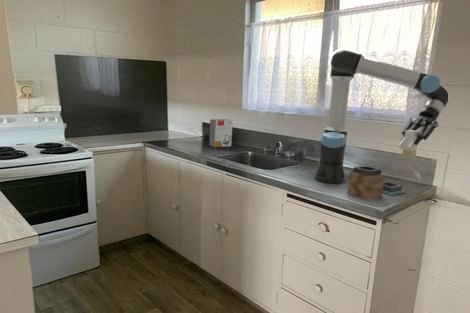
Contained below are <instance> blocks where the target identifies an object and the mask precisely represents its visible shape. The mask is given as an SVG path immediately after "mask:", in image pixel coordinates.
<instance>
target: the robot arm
mask: <svg viewBox="0 0 470 313" xmlns="http://www.w3.org/2000/svg"><path fill="white" fill-rule="evenodd" d="M330 66H331V68H330V77H329V78H331V79H332V84H331V85H332V87H331V94H330V95H331V96H330V104H329V105H330V106H329V114H328V121H327V122H328V123H327V126H326V127H325V128H324V132H323V134H322V135H321V138H320V151H319V160H318V161H319V163H318V164H317V167H316V170H315V172H314V177H313V178H314V179H315V180H316V181H318V182H319V181H320V182H322V183H327V184H342V183H346V173H345V168H344V158H345V150H346V146H347V137H348V129H347V128H346V118H347V113H348V112H347V111H348V110H347V109H348V103H349V94H350V85H351V81H352V80H353V79H354V77H355V75H357V74H361V75H364V76H368V77H371V78H374V79H377V80H378V79H379V80H382V81H385V82H388V83H392V84H395V85H400V86H402V87H406V88H410V89H414V90H416V91H417V92H419V93H420V94H422V95H423V96H424V97H426V98H428V100H427V102H426V103H425V104H424V106H423V108H422V109H421V110H420V111H419V114H418V116H417V117H415V118H412V117H410V118H409V119H408V122H407V124H406V125H405V126H404V128H403V129H402V131H401V135H402V137H401V139H400V142H399V143H398V146H399V149H400V150H403V146H404V138H405V131H406V130H415V131H418V130H419V129H420V130H419V134H418V135H417V136H418V137H417V136H415V138H414V139H413V140H412V142H411V143H410V145H409V146H408V148H409V150H410V151H412V150H413V148H414V147H415V145H417V146H418V145H419V143H420V142H421V141H422V140H424V141H425V140H428V139H429V137H430V135H431V134H432V132H434V131H435V130H436V128H437V127H439V123H438V121H437V119H438V117H439V116H440V114H441V113H442V111H443V110H444V109H445V107H446V106H447V105H446V104H448V103H449V102H448V93H447V91H446V90H445V89H444V88H443V87H442V86H441V80H440V78H439V76H437V75H435V74H428V73H424V72H421V71H418V70H413V69H410V68H405V67H403V66H399V65H395V64H392V63H388V62H384V61H380V60H376V59H373V58H370V57H365V55H364V54H363V53H361V52H357V51H355V50H352V49H350V48H346V47H341V48H339V49H337V50H335V51H334V52H333V53H332V55H331V57H330ZM447 102H448V103H447Z"/></svg>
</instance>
